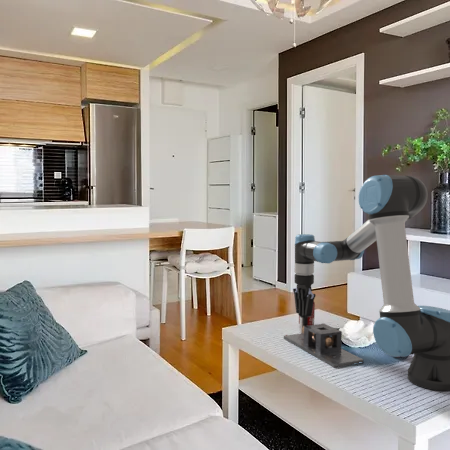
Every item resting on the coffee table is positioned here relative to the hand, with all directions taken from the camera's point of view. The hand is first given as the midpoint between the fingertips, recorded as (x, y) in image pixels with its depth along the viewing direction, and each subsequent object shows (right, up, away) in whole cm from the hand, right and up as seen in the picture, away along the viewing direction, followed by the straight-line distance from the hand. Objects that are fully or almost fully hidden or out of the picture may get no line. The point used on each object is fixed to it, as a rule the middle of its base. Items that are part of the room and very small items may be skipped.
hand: (303, 332), depth 187 cm
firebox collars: (+5, -4, -11) cm, 12 cm away
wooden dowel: (+4, -1, -9) cm, 10 cm away
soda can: (+5, -2, +22) cm, 22 cm away
